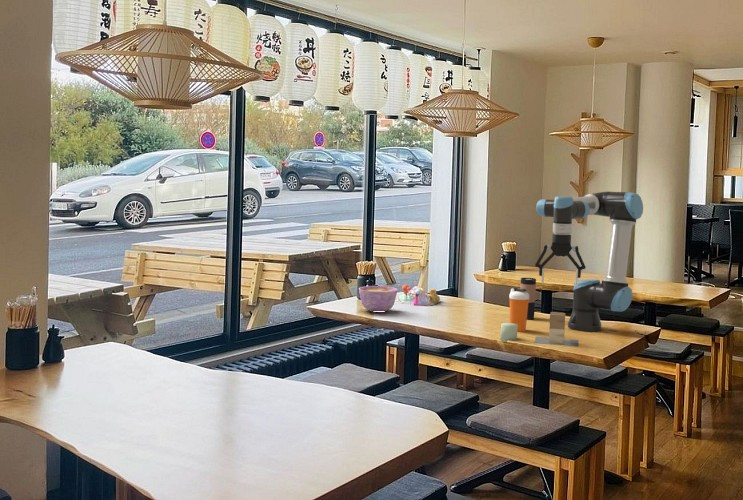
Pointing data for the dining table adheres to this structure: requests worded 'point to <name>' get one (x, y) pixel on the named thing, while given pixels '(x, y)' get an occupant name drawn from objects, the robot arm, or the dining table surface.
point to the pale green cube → (508, 331)
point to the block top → (557, 320)
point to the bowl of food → (378, 297)
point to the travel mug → (531, 290)
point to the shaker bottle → (519, 308)
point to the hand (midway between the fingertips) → (559, 284)
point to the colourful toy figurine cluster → (418, 296)
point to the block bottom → (556, 335)
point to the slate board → (566, 343)
